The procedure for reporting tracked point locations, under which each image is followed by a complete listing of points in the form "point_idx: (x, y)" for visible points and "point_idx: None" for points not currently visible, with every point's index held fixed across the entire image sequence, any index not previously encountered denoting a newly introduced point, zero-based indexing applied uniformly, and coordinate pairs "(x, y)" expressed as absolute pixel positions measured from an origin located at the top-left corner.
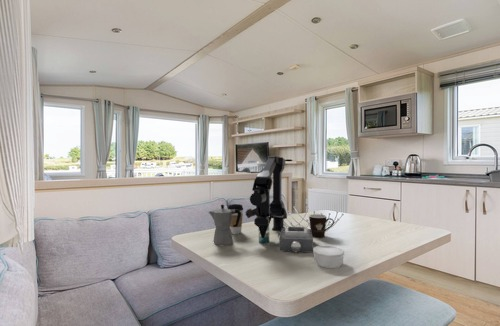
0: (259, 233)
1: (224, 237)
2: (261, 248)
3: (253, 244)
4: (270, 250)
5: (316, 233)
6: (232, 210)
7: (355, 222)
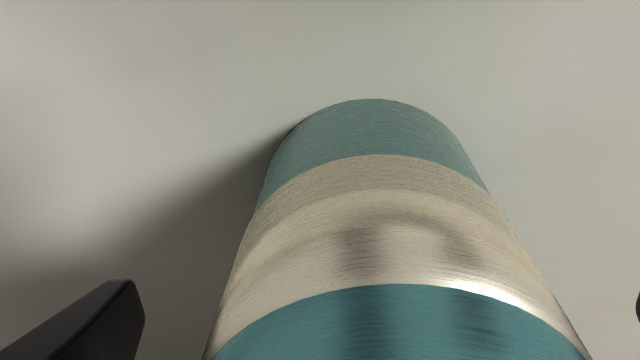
0: (253, 250)
1: None
2: (18, 209)
3: (167, 17)
4: (6, 330)
5: None
6: None
7: None
